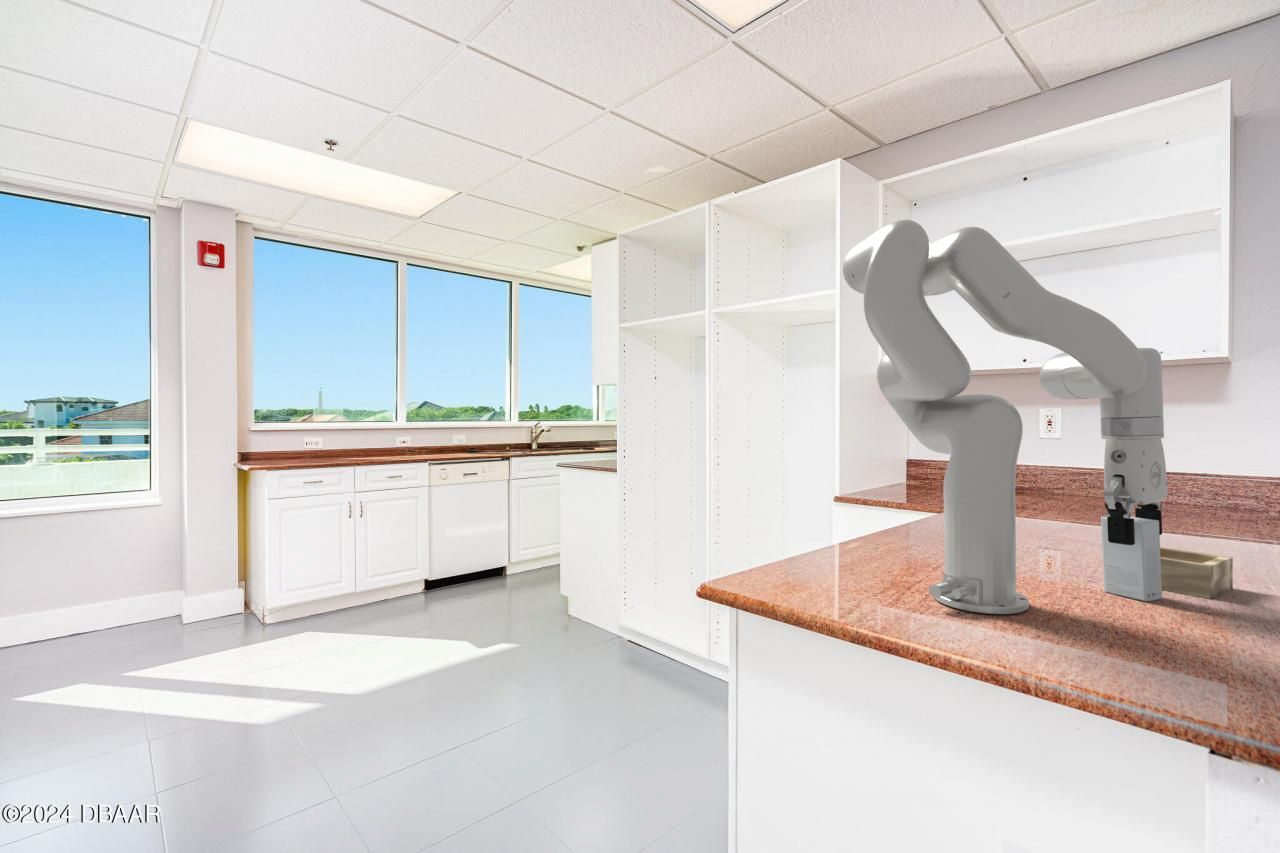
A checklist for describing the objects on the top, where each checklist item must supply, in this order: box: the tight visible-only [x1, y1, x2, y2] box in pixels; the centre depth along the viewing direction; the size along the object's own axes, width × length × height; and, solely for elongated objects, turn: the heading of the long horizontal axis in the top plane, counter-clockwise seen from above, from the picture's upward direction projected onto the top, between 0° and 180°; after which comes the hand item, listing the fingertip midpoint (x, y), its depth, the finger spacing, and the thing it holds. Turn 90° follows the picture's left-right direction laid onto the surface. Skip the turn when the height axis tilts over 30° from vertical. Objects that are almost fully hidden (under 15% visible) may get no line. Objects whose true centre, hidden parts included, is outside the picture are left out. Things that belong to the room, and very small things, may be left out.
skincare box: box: [1100, 515, 1163, 602], centre depth 93 cm, size 6×4×12 cm
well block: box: [1160, 546, 1234, 600], centre depth 98 cm, size 10×10×5 cm
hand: (1135, 538), depth 93 cm, fingers open, 9 cm apart
